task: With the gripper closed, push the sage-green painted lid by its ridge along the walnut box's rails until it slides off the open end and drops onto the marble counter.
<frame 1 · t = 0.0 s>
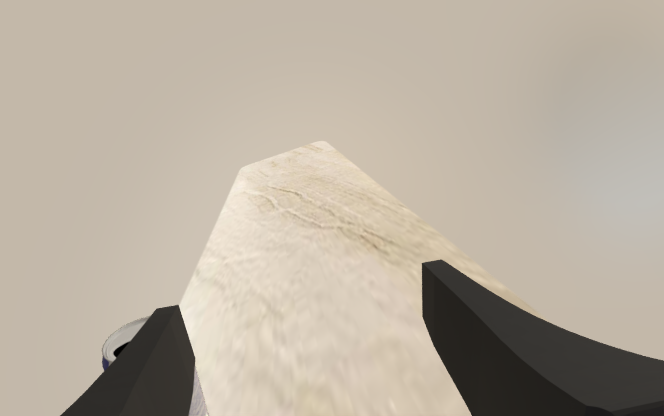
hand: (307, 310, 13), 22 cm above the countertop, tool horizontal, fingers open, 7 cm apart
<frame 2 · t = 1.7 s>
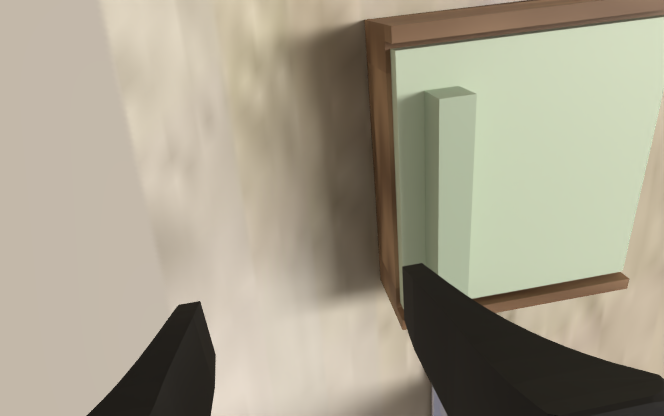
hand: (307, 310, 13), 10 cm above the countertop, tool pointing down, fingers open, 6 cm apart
box: (485, 150, 23), on the countertop
lid: (519, 173, 20), point 3 cm above the countertop, touching box
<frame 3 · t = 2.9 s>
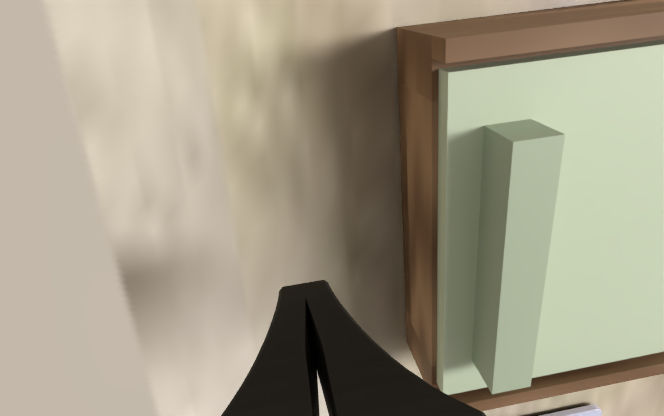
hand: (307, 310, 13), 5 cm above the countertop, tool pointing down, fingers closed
box: (540, 188, 19), on the countertop
lid: (595, 226, 16), point 3 cm above the countertop, touching box
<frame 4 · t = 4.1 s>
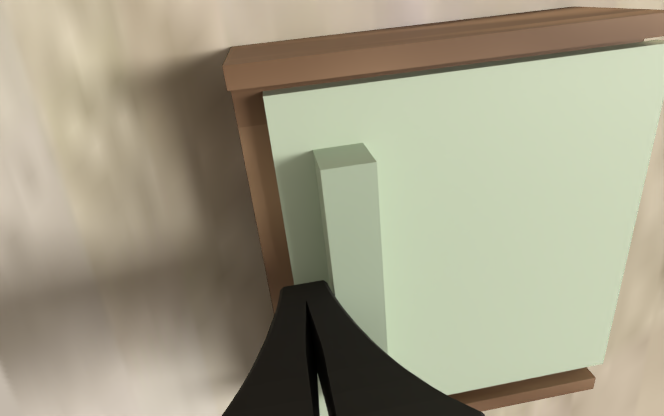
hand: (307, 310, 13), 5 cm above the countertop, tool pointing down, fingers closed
box: (412, 209, 18), on the countertop
lid: (461, 248, 15), point 3 cm above the countertop, touching box, gripper
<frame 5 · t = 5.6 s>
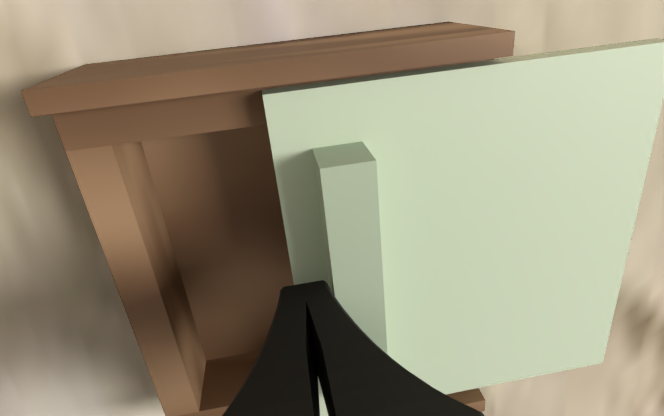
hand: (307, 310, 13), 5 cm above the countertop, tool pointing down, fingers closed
box: (300, 227, 18), on the countertop
lid: (461, 247, 15), point 3 cm above the countertop, touching box, gripper
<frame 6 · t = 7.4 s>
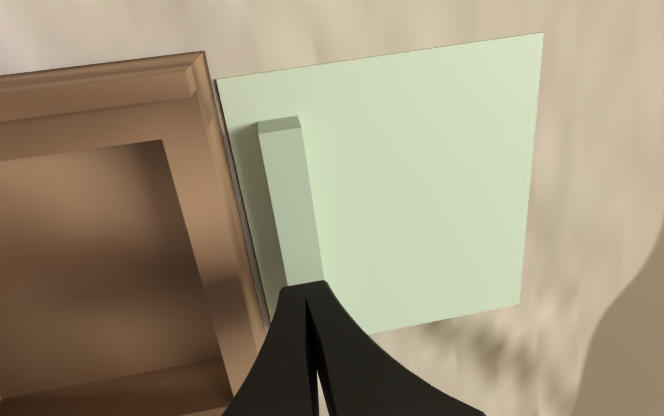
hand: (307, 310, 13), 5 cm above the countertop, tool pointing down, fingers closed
box: (87, 261, 17), on the countertop
lid: (389, 204, 19), on the countertop
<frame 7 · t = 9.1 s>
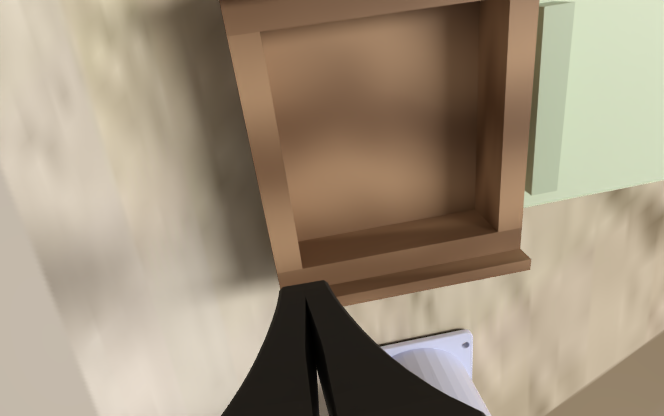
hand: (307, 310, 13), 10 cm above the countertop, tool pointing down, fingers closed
box: (376, 125, 22), on the countertop
lid: (597, 84, 23), on the countertop
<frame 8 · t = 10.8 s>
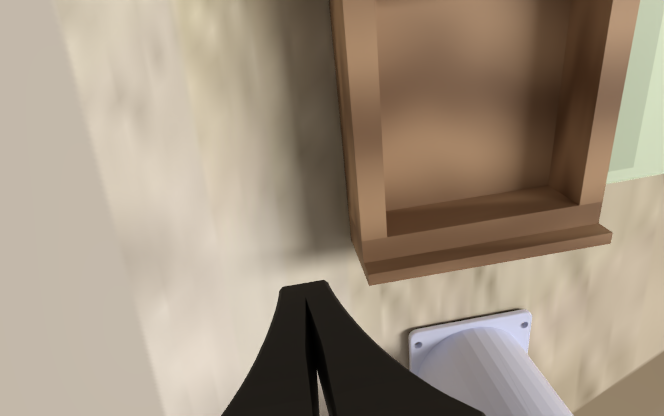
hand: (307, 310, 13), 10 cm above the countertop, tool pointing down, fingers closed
box: (459, 96, 22), on the countertop
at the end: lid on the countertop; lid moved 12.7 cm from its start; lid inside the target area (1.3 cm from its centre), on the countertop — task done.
